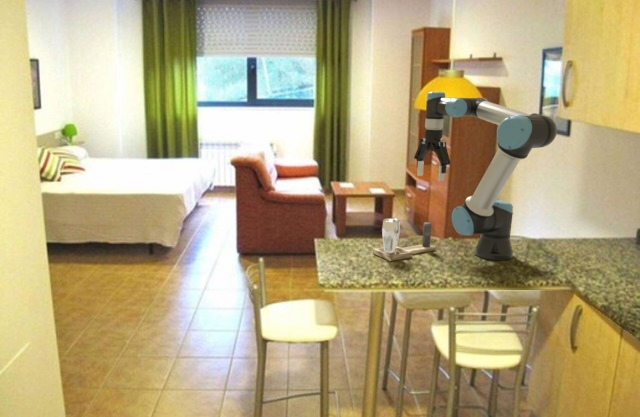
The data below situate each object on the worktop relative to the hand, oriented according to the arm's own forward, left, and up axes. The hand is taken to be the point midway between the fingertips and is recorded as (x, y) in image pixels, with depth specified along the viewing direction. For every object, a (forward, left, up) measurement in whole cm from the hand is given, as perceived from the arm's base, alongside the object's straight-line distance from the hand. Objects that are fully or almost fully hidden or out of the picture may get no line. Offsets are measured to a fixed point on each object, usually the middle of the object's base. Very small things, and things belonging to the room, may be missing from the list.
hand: (430, 178), depth 259 cm
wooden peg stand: (-9, +19, -29) cm, 36 cm away
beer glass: (-9, +28, -29) cm, 41 cm away
